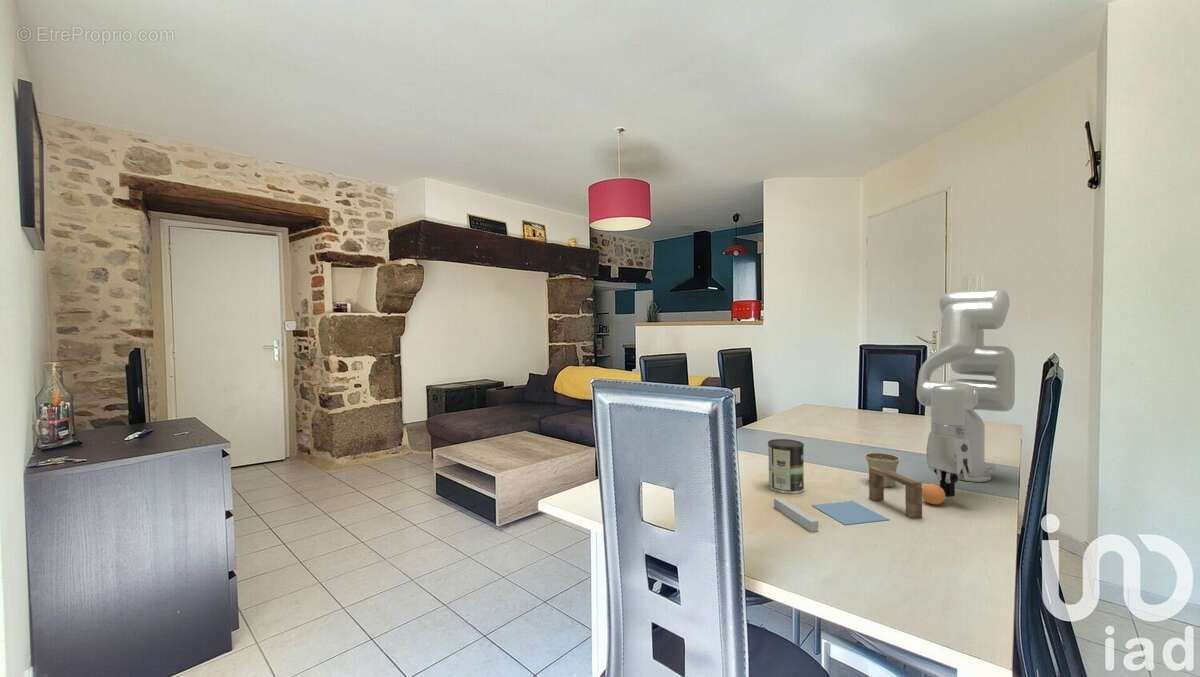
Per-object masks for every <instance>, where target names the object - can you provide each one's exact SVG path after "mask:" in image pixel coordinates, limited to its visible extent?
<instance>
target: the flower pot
mask: <svg viewBox="0 0 1200 677" xmlns="http://www.w3.org/2000/svg"><path fill="white" fill-rule="evenodd" d="M864 457H865V459H866V462H867V464H868V468H869V467H874V466H879V467H882V468H884V469H887V470H890V471H893V472H895V473H897V470H898V469H897V468H898V465H899V462H900V461H901V458H900V456H898V455H894V454H889V453H883V452H868V453H865V454H864ZM895 483H896V482H895V481H893V480H890V479H888V478H885V477H884V488H888V487H894V486H895Z"/></svg>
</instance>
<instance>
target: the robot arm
mask: <svg viewBox="0 0 1200 677" xmlns="http://www.w3.org/2000/svg"><path fill="white" fill-rule="evenodd" d="M938 303H939V308H940V311H941V313H942V317H941V325H940V326H941V327H940V337H939V347H938V349H937V350H935V352H934V353H932V354H931V355H929V357H927V359H926V360H925V361H924V362H923V363H922V365H921V366H920V368H919V372H918V376H917V377H918V378H917V385H916V398H917V401H918V402H919V404H921V405H922V406H925V407H930V431H929V434H928V437H927V443H926V450H925V451H926V452H925V454H926V456H925V460H926V464H927V465H928V469H929V470H930V471H932V472H933V473H935V476H936V477H937V480H938V481H939V486H940V487H941V488H942V489H943V490H944V492H945V498H953V497H955V496H956V495H955V494H956V487H955V486H956V483H958V481H959V480H961V481H966V482H974V483H975V482H976V483H977V482H978V483H983V482H990V481H991V479H992V476H991V474H990V473H988V470H991V471H992V470H996V468H997V466H996V464H995V463H992V462H991V463H987V462H985V456H986V455H985V450H986V449H985V443H986V442H985V440H986V439H985V438H986V437H985V436H986V434H985V430H986V429H985V422H984V420H983V419H982V417H981V416H980V415H979V414H978V413H977V412H976V411H979V410H980V411H991V412H1002V413H1003V412H1004V413H1005V412H1010V411H1011V410H1012V409H1013V408H1014V406H1015V400H1016V399H1015V398H1016V382H1015V381H1016V377H1015V376H1016V364H1015V363H1016V362H1015V361H1016V360H1015V355H1014V353H1013V350H1011V348H1009V347H1007V346H1003V345H985V343H984V341H985V331H984V330H999V329H1000V328H1002V327H1003V325H1004V324H1005V321H1006V319H1007V314H1008V312H1009V308H1010V303H1011V302H1010V297H1009V294H1008V293H1007V291H1005V290H1004V289H981V290H980V289H978V290H958V291H951V292H946V293H944V294H943V295H941V297H939V302H938ZM948 364H950V368H951V370H952V371H953V372H954V373H956V374H959V375H968V376H985V377H993V378H995V380H992V379H991V380H990V379H988V380H987V379H978V378H977V379H975V378H973V379H972V378H954V379H951V380H948V381H933V380H931V377H932V375H933V374H934V373H935V372H936V371H937V370H939V369H940V368H941V367H943V366H946V365H948ZM975 410H976V411H975Z"/></svg>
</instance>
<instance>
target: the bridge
mask: <svg viewBox="0 0 1200 677" xmlns="http://www.w3.org/2000/svg"><path fill="white" fill-rule="evenodd" d="M884 477H885V478H888V479H890V480H893V481H895V483H898V484H901V485H903V486H905V517H907V518H909V519H911V520H915V519H923V497H922V487H923V482H922V481H919V480H916V479H914V478H911V477H908V476H906V475H903V474H901V473H898V472H896V473H895V472H893V471H890V470H887V469H884V468H882V467H879V466H874V467H869V466H868V490H869V492H868V497H869V500H871V501H873V502H882V501H884V500H885V487H884Z"/></svg>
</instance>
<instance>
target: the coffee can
mask: <svg viewBox="0 0 1200 677" xmlns="http://www.w3.org/2000/svg"><path fill="white" fill-rule="evenodd" d="M767 445H768V448H767V449H768V488H769V489H770V490H772V491H774V492H777V493H780V492H781V494H789V495H790V494H792V495H794V494H795V495H796V494H801V493H803V492H804V491H805V477H804V476H805V475H804V474H805V473H804V466H805V465H804V458H805V457H804V456H805V455H804V447H805V444H804V443H803V442H802V441H799V440H795V439H794V440H793V439H789V438H787V439H786V438H776V439H774V438H773V439H770V440H768V441H767Z"/></svg>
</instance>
